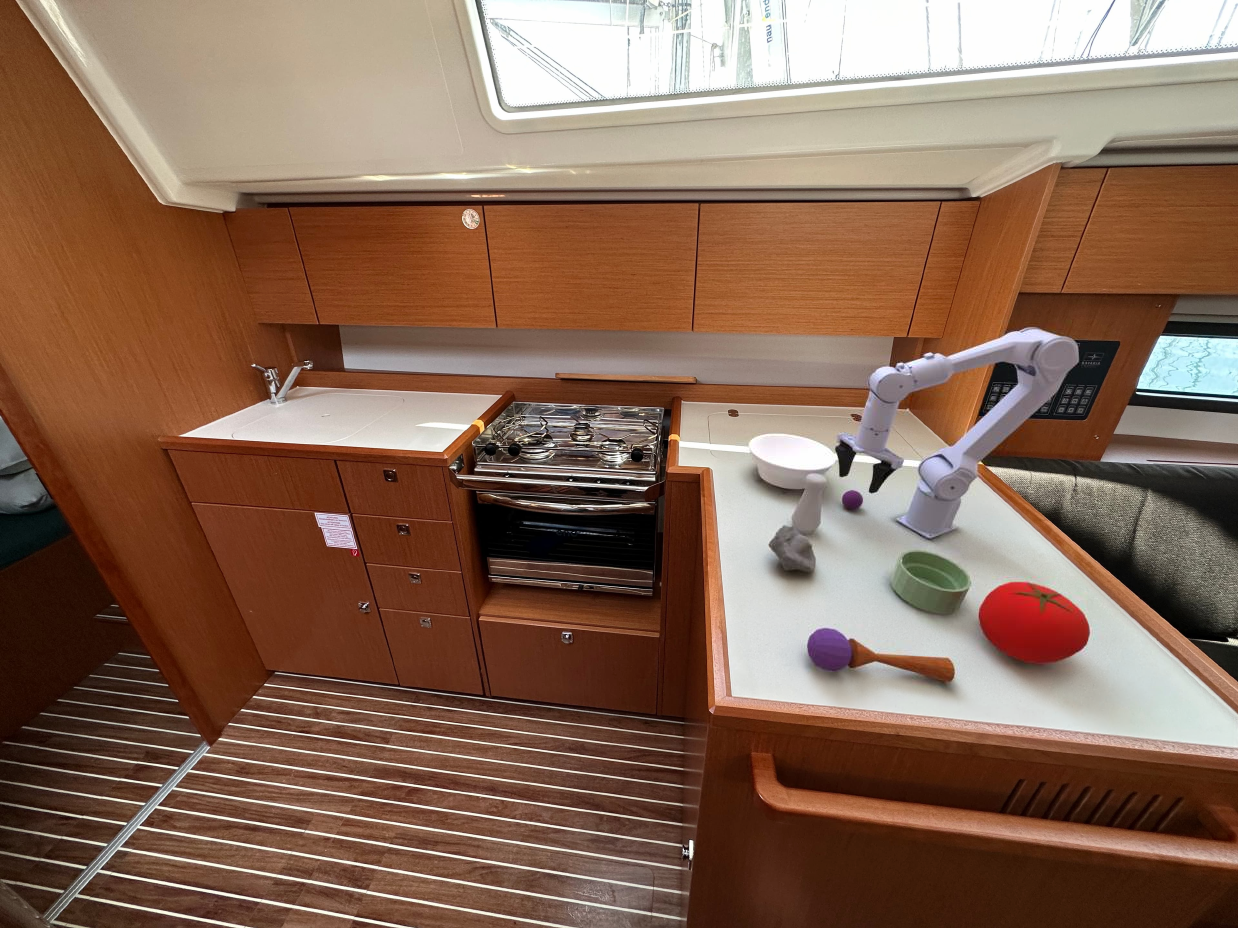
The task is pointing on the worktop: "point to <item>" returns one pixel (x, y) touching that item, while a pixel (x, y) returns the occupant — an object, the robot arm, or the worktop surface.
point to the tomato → (1033, 623)
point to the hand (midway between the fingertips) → (857, 483)
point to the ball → (852, 499)
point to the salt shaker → (810, 505)
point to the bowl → (789, 459)
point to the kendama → (870, 656)
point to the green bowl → (930, 581)
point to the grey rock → (793, 549)
